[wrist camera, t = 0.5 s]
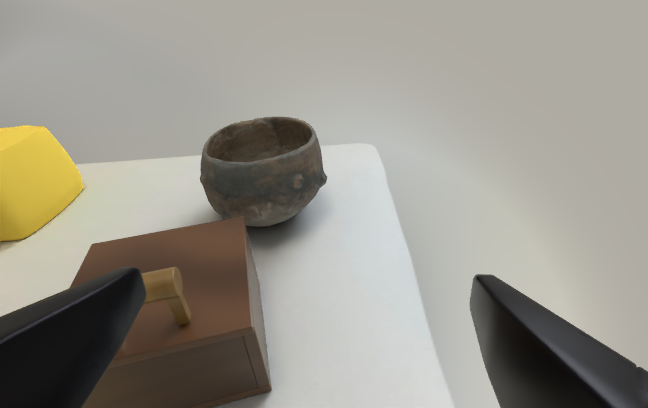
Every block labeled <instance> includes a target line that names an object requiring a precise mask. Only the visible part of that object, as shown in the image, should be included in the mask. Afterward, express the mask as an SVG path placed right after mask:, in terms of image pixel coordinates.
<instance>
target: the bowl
mask: <svg viewBox="0 0 648 408" xmlns="http://www.w3.org/2000/svg"><path fill="white" fill-rule="evenodd" d="M326 180H327V176H326V174H325V173H324V171H323V164H322V156H321V149H320V145H319V142H318V139H317V136H316V133H315V131H314V129H313V128H312V127H311V126H310V125H309V124H308V123H306V122H305V121H302V120H299V119H296V118H289V117H264V118H256V119H254V120H249V121H240V122H237V123H234V124H231V125H229V126H227V127H224V128H222V129H220V130H219V131H217V132H216V133H214V134H213V135H212V136H211V137H210V138H209V139H208V141H207V142H206V144H205V146H204V148H203V152H202V159H201V177H200V181H201V183H202V185H203V187H204V190H205V193H206V195H207V198H208V201H209V203H210V204H211V206H212V207H213V209H214V210H215V211H216V212H217V213H218V214H219V215H220V216H222V217H223V218H225V219H231V218H236V217H242V216H243V217H244V221H245V225H248V226H257V227H265V226H271V225H274V224H277V223H280V222H284V221H286V220H288V219H290V218H292V217H293V216H295V215H297V214H298V213H299V212H300V211H301V210H302V209H303V208H304V207H305V206H306V205H307V204H308V203H309V202H310V201H311V200H312V199H313V198H314V197H315V195H316V194H317V192H318V190H319V188H320V187H322V186H323V185H324V184H325V183H326Z"/></svg>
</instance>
